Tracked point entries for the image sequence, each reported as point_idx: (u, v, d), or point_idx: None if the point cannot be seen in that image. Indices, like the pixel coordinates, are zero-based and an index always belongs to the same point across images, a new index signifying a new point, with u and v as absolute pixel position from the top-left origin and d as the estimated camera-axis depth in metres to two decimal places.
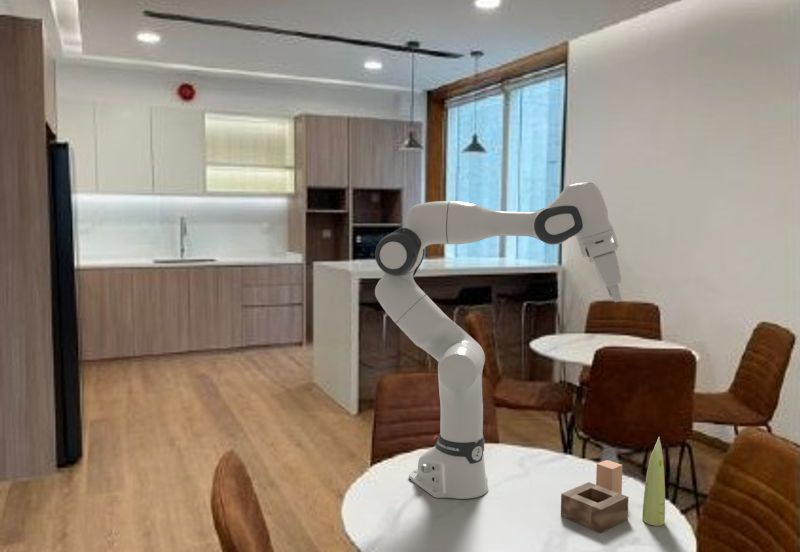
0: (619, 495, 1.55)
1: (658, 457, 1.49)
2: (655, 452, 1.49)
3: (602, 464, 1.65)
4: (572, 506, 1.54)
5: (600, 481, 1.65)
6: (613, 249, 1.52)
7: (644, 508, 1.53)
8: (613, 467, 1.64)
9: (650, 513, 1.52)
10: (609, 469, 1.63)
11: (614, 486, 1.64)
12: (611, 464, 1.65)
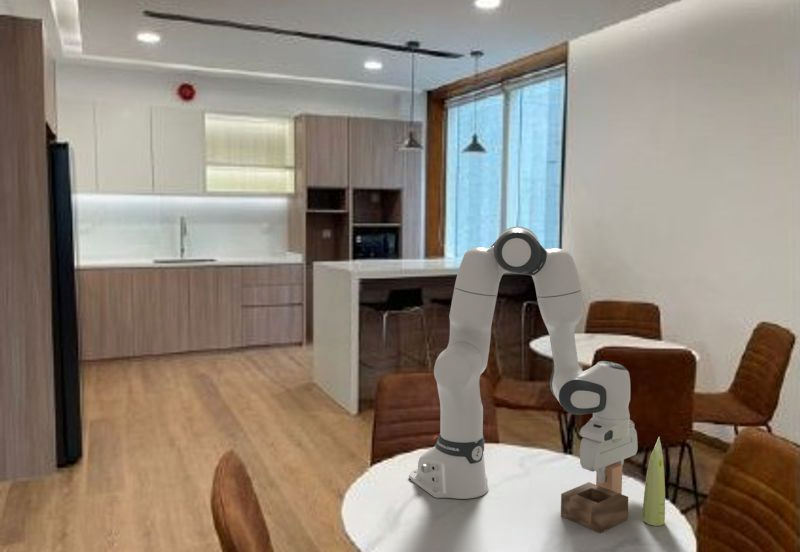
0: (619, 495, 1.55)
1: (658, 457, 1.49)
2: (655, 452, 1.49)
3: None
4: (572, 506, 1.54)
5: None
6: (598, 440, 1.58)
7: (644, 508, 1.53)
8: (613, 467, 1.64)
9: (650, 513, 1.52)
10: (609, 469, 1.63)
11: (614, 486, 1.64)
12: (611, 464, 1.65)
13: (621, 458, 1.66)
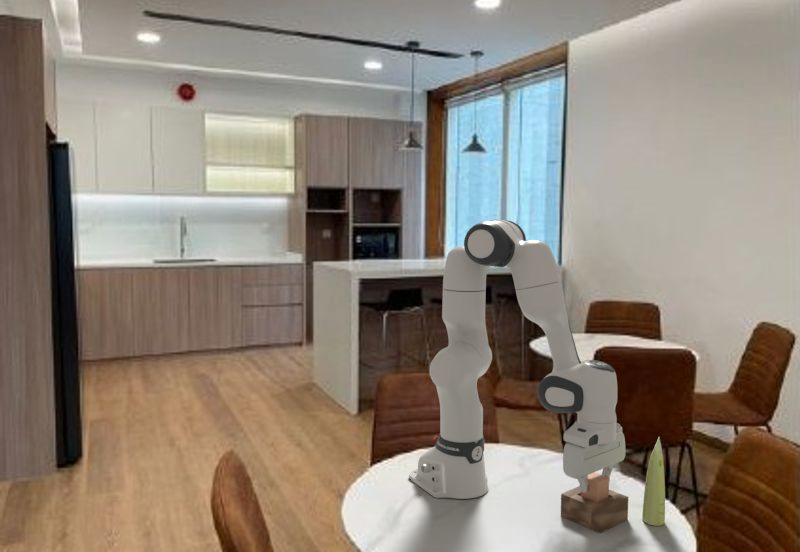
0: (619, 495, 1.55)
1: (658, 457, 1.49)
2: (655, 452, 1.49)
3: None
4: (572, 506, 1.54)
5: (585, 494, 1.55)
6: (582, 445, 1.47)
7: (644, 508, 1.53)
8: (599, 480, 1.53)
9: (650, 513, 1.52)
10: (594, 482, 1.52)
11: (599, 501, 1.53)
12: (597, 477, 1.55)
13: (608, 464, 1.55)
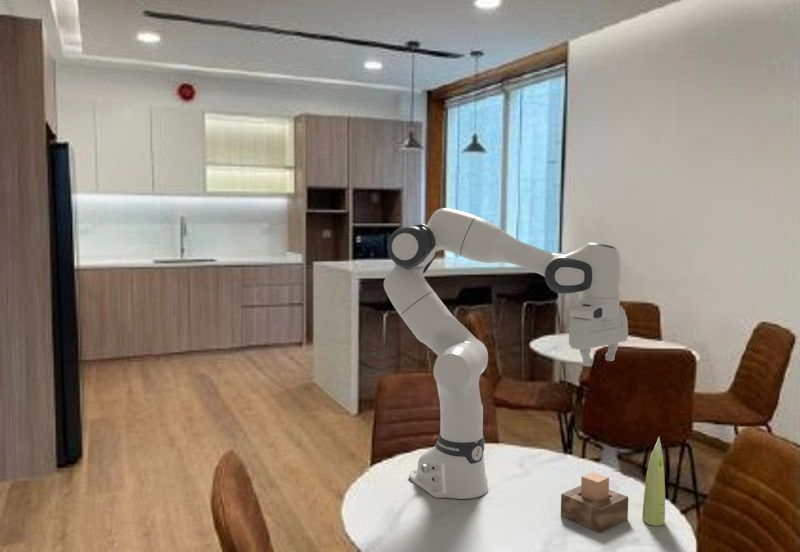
0: (619, 495, 1.55)
1: (658, 457, 1.49)
2: (655, 452, 1.49)
3: (587, 477, 1.55)
4: (572, 506, 1.54)
5: (585, 494, 1.55)
6: (587, 317, 1.55)
7: (644, 508, 1.53)
8: (599, 480, 1.53)
9: (650, 513, 1.52)
10: (594, 482, 1.52)
11: (599, 501, 1.53)
12: (597, 477, 1.55)
13: (611, 341, 1.63)
